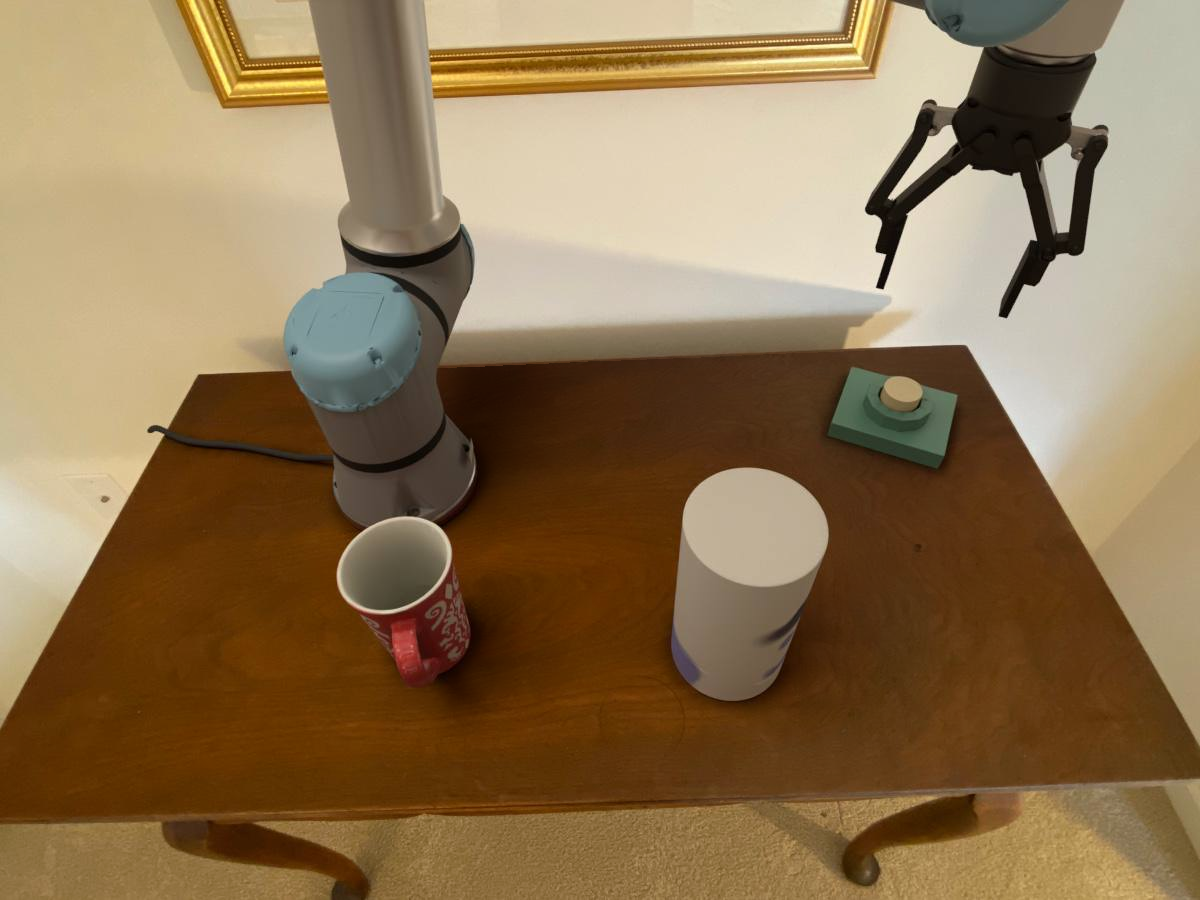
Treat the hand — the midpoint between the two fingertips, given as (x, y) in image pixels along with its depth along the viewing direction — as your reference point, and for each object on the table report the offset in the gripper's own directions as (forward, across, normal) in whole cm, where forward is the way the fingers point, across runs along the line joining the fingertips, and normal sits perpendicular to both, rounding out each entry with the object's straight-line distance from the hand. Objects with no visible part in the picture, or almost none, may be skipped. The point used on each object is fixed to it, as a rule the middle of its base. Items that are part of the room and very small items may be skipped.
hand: (941, 294), depth 68 cm
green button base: (+18, 0, 0) cm, 18 cm away
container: (+18, +8, +34) cm, 39 cm away
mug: (+18, +32, +46) cm, 59 cm away
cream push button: (+14, 0, 0) cm, 14 cm away
